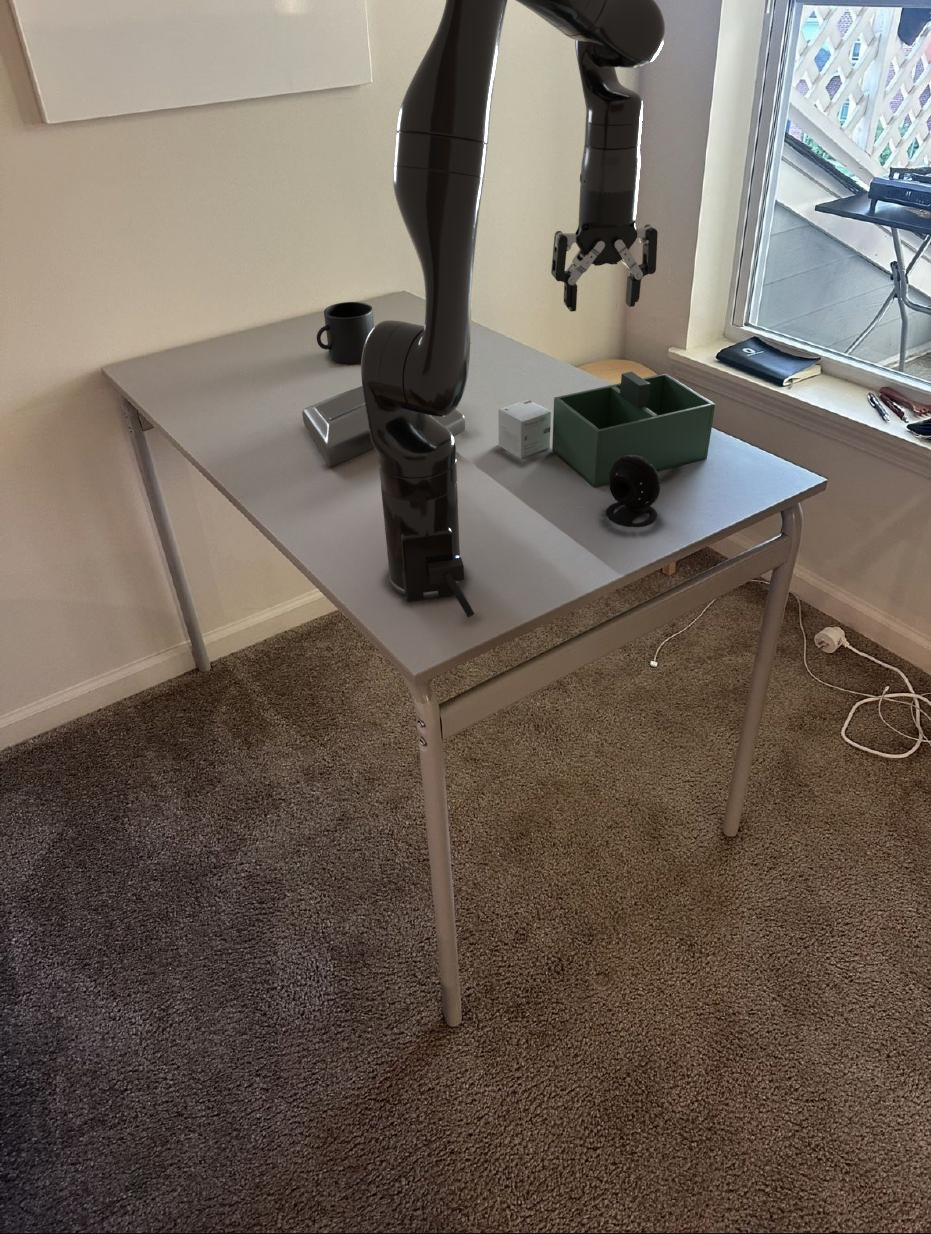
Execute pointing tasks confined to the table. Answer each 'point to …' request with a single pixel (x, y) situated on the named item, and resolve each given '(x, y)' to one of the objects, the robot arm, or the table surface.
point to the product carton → (524, 428)
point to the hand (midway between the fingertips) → (601, 307)
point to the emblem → (352, 426)
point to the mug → (346, 330)
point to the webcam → (633, 490)
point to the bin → (631, 425)
